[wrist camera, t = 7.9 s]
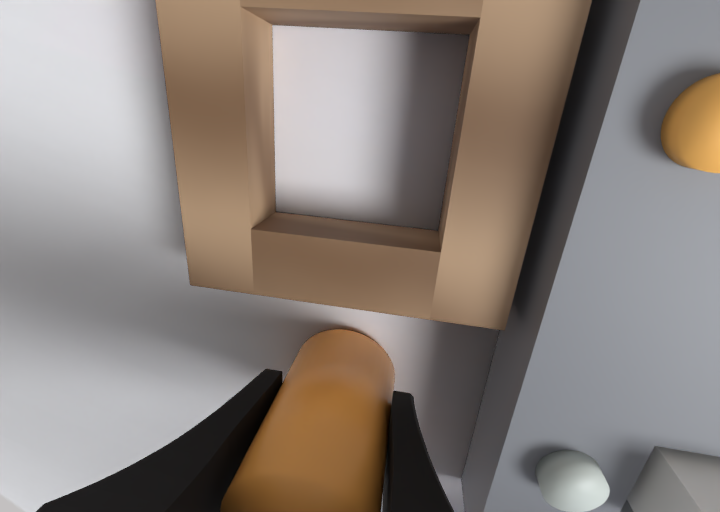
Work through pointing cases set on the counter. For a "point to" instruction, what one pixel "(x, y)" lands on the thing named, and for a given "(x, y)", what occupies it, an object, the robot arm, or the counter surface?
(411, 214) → the counter surface
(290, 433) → the cap
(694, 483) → the block
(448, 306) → the frame
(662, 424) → the breaker panel
